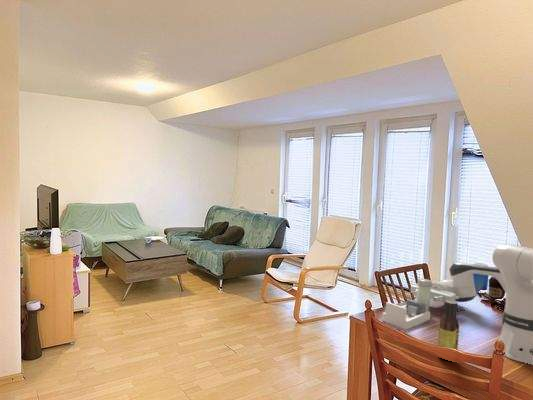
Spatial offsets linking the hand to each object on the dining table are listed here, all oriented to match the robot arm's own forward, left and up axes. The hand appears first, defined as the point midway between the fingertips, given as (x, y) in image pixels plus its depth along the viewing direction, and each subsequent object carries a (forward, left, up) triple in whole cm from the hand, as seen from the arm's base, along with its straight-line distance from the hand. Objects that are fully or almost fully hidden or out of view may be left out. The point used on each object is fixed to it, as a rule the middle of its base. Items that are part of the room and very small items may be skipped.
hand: (425, 296), depth 180 cm
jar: (0, +2, -8) cm, 8 cm away
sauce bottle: (-27, +37, -8) cm, 47 cm away
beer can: (-1, -61, -8) cm, 61 cm away
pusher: (0, +10, -7) cm, 12 cm away
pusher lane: (0, +16, -8) cm, 18 cm away
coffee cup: (-14, -49, -8) cm, 52 cm away
